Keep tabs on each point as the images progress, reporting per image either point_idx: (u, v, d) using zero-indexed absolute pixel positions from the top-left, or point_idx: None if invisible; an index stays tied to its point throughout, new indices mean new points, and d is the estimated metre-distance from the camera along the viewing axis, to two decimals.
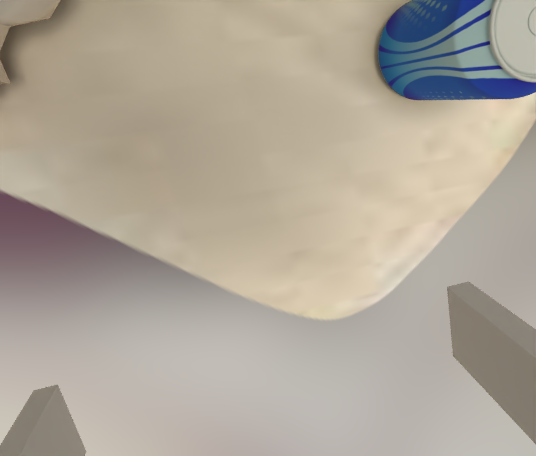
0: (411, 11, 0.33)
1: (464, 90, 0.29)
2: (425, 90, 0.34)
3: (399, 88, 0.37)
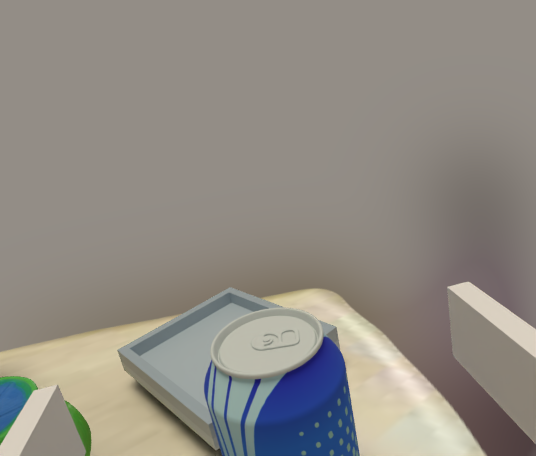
0: None
1: (281, 448, 0.22)
2: None
3: None
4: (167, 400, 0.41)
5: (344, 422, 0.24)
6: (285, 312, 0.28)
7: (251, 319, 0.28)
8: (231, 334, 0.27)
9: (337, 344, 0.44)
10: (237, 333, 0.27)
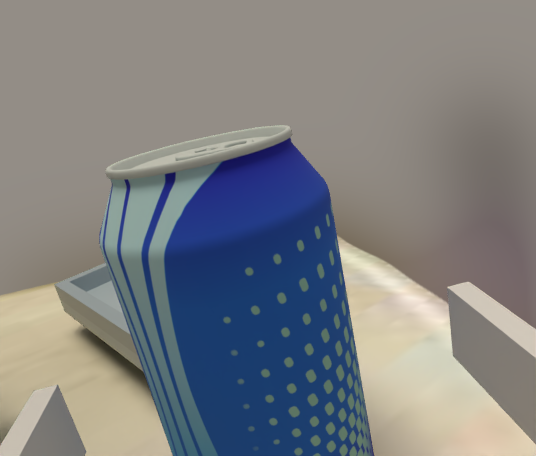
0: None
1: (214, 299, 0.13)
2: (245, 439, 0.14)
3: None
4: (105, 331, 0.31)
5: (328, 273, 0.14)
6: (238, 137, 0.18)
7: (187, 150, 0.18)
8: (151, 161, 0.17)
9: None
10: (160, 159, 0.17)
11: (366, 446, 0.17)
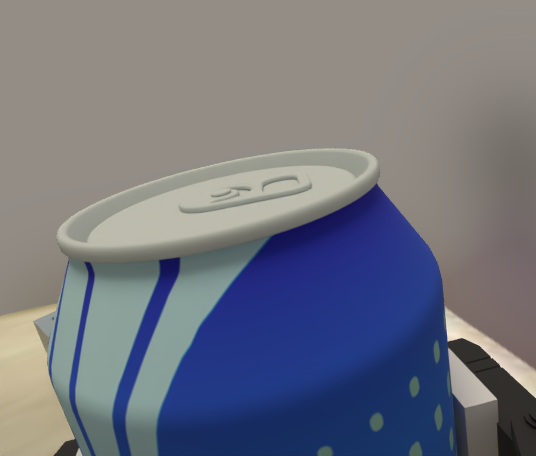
0: None
1: None
2: None
3: None
4: None
5: (445, 415, 0.08)
6: (274, 163, 0.12)
7: (197, 182, 0.12)
8: (141, 203, 0.11)
9: None
10: (154, 200, 0.11)
11: None
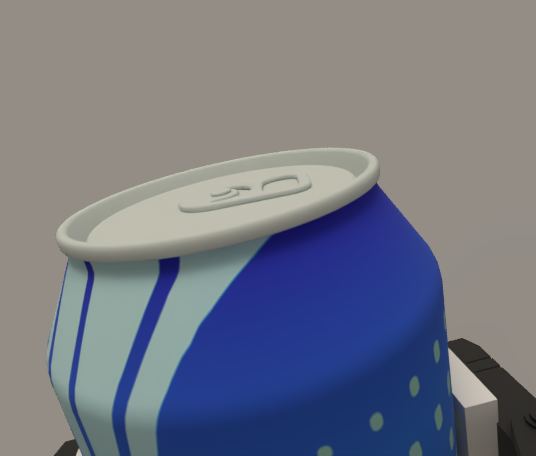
0: None
1: None
2: None
3: None
4: None
5: (446, 415, 0.08)
6: (274, 163, 0.12)
7: (197, 181, 0.12)
8: (140, 202, 0.11)
9: None
10: (154, 199, 0.11)
11: None
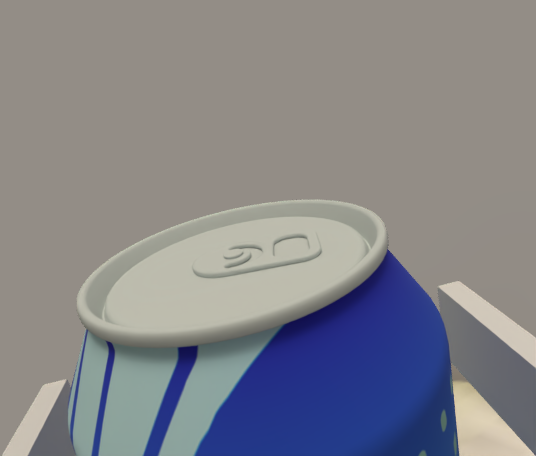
0: None
1: None
2: None
3: None
4: None
5: None
6: (284, 211, 0.12)
7: (208, 229, 0.12)
8: (154, 255, 0.11)
9: None
10: (168, 252, 0.11)
11: None
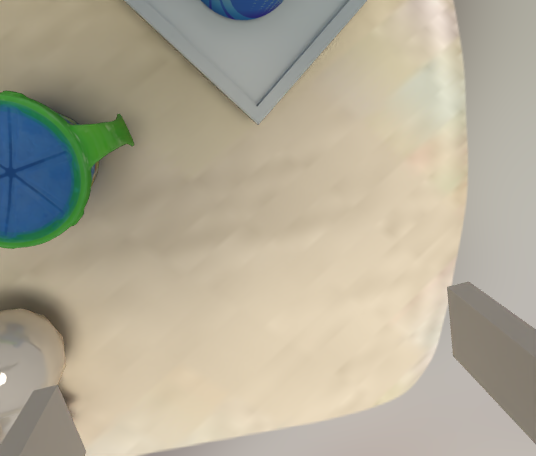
0: None
1: None
2: (249, 4, 0.28)
3: (239, 16, 0.31)
4: (186, 58, 0.34)
5: None
6: None
7: None
8: None
9: None
10: None
11: None
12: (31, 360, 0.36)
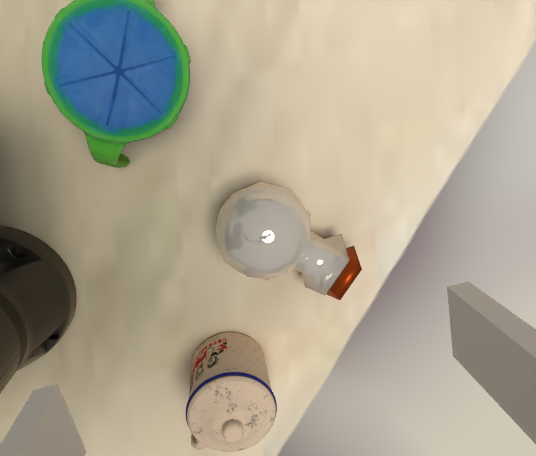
0: None
1: None
2: None
3: None
4: None
5: None
6: None
7: None
8: None
9: None
10: None
11: None
12: (273, 201, 0.39)
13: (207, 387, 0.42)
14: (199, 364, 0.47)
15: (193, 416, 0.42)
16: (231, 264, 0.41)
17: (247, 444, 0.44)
